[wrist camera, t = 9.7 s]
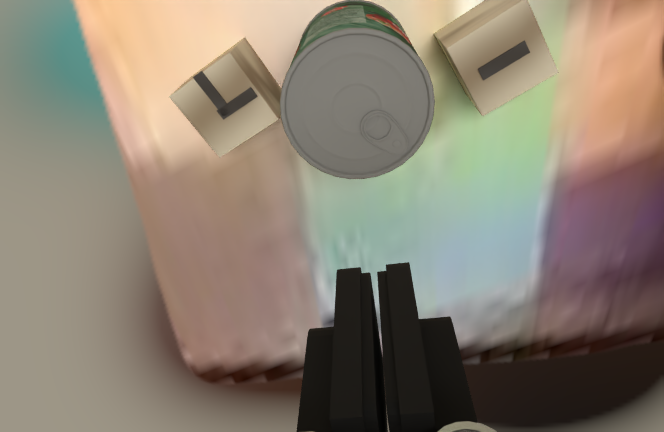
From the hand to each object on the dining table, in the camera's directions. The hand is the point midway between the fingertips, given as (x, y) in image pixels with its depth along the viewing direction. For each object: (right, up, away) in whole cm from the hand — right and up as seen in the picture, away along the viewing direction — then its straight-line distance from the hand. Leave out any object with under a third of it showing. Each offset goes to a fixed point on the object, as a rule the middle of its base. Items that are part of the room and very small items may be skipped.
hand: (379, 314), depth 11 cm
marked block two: (-8, +12, +24) cm, 28 cm away
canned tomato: (0, +13, +23) cm, 27 cm away
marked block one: (+9, +14, +22) cm, 28 cm away
